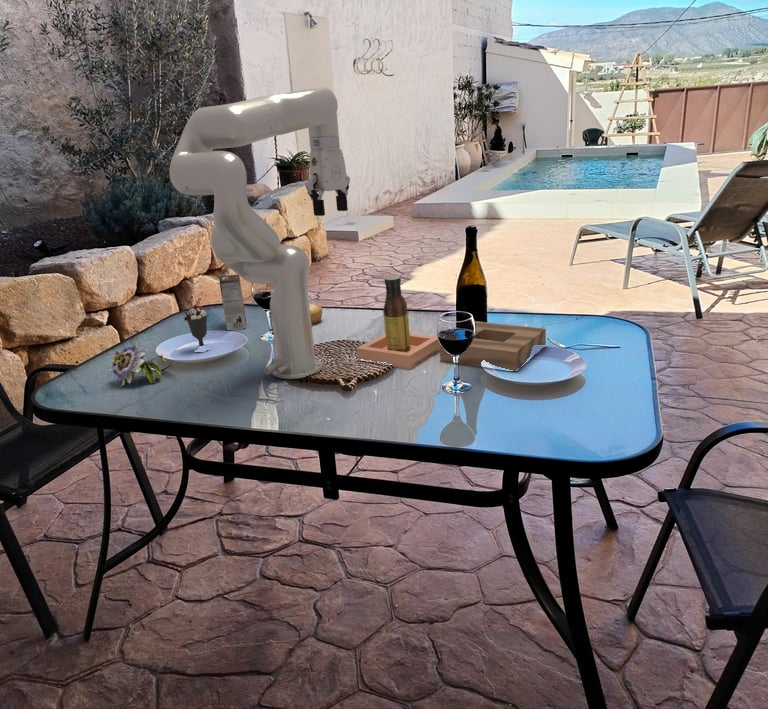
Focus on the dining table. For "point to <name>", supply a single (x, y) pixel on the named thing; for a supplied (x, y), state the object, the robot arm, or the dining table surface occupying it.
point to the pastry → (315, 313)
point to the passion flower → (133, 365)
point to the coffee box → (232, 302)
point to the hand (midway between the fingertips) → (331, 213)
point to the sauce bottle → (396, 316)
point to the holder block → (499, 345)
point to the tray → (418, 352)
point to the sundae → (197, 322)
